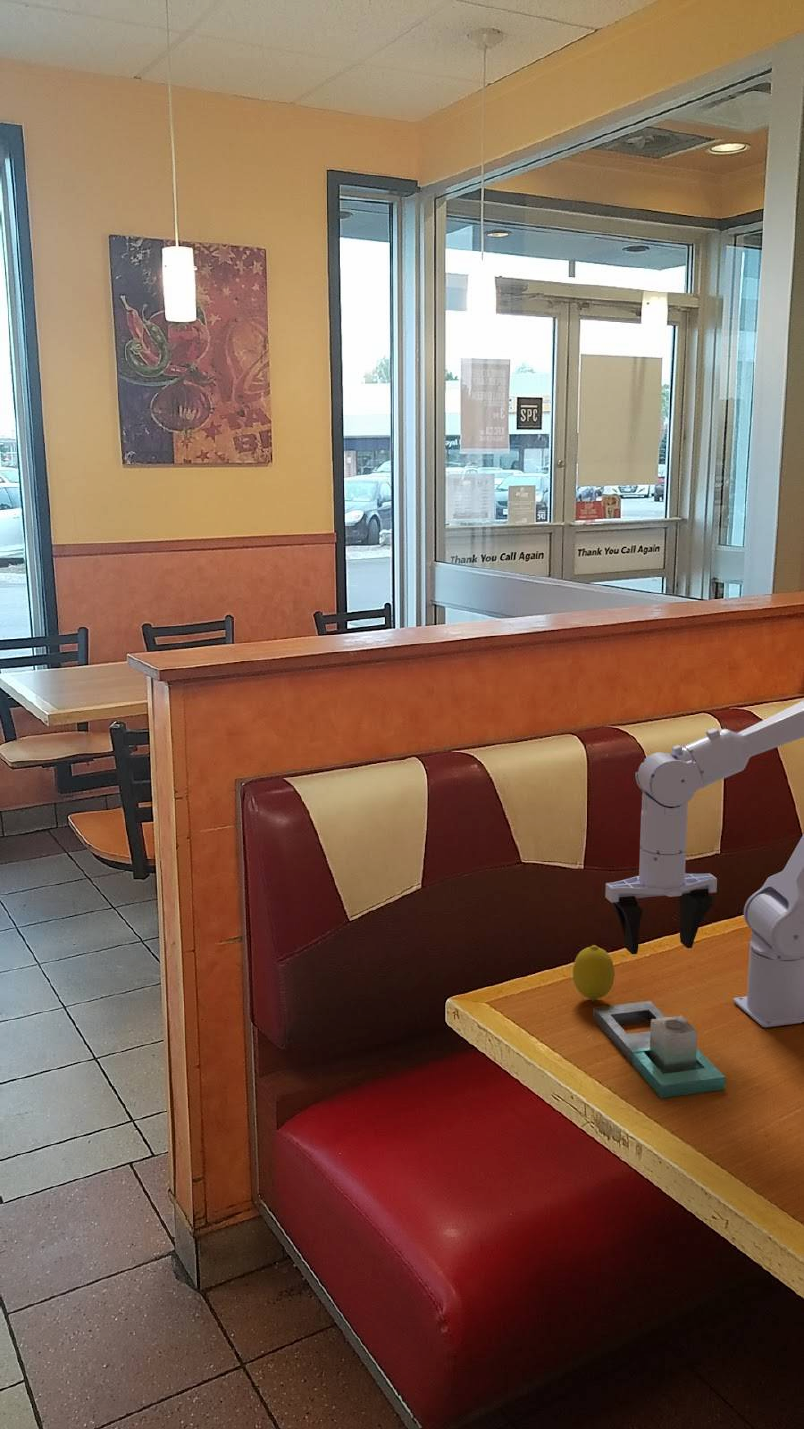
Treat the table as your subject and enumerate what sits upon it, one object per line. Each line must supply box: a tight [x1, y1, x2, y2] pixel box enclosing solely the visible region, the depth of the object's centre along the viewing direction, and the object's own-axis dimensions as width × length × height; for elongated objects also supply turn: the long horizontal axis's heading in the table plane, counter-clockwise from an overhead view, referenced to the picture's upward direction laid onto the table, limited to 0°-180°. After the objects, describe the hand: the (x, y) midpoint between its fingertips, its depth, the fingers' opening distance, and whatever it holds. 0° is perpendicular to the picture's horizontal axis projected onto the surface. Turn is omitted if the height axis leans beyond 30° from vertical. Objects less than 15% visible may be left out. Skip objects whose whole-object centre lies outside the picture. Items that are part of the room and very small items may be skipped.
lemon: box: [572, 944, 615, 1002], centre depth 153 cm, size 6×6×8 cm
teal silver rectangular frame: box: [592, 1000, 726, 1099], centre depth 139 cm, size 8×20×2 cm, turn 13°
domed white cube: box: [650, 1015, 698, 1074], centre depth 134 cm, size 4×4×6 cm
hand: (659, 948), depth 146 cm, fingers open, 7 cm apart
